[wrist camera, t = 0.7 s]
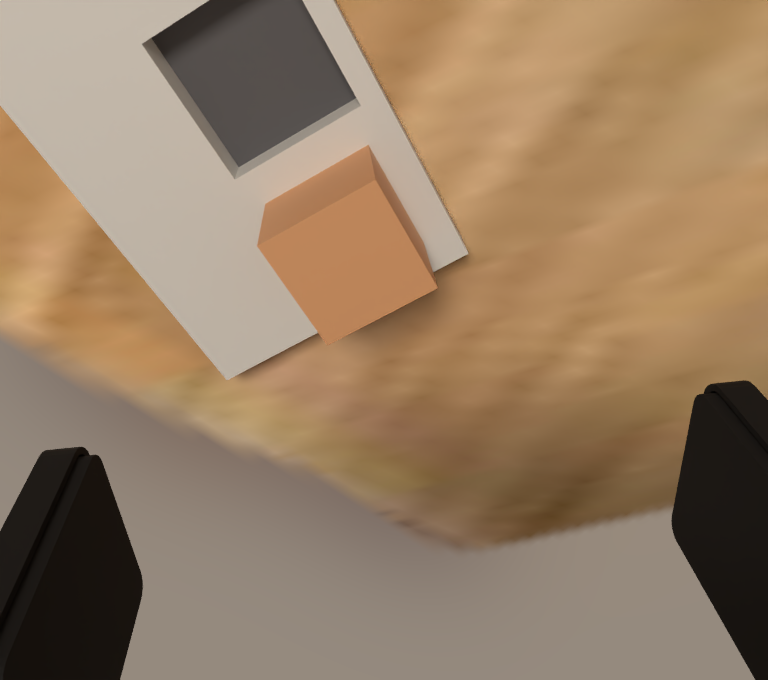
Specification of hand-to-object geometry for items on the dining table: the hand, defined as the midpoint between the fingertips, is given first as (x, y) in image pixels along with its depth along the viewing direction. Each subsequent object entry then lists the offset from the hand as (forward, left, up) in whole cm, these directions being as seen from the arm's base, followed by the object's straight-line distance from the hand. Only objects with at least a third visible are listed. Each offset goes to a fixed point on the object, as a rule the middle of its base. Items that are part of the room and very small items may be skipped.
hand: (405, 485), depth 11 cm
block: (+2, +3, -21) cm, 21 cm away
